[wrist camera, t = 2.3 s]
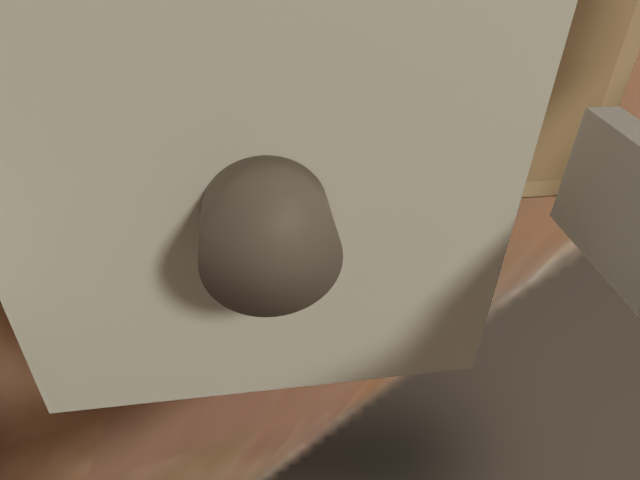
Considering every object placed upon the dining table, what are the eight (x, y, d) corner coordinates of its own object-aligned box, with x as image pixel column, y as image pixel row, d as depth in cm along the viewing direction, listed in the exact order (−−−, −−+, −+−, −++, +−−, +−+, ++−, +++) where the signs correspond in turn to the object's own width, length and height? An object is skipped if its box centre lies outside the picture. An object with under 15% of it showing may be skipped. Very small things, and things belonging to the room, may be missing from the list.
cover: (128, 146, 24) (30, 477, 11) (70, -143, 18) (-287, -120, 5) (358, 136, 25) (498, 420, 13) (378, -134, 19) (685, -100, 7)
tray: (388, 203, 28) (389, 206, 27) (415, -34, 21) (417, -33, 21) (584, 191, 29) (587, 193, 29) (666, -34, 23) (670, -33, 22)
